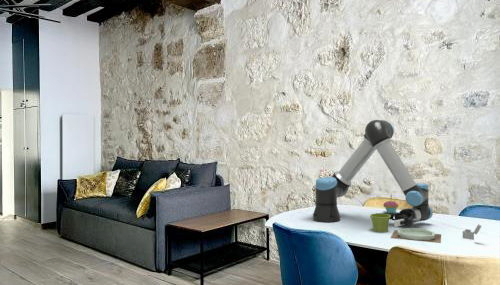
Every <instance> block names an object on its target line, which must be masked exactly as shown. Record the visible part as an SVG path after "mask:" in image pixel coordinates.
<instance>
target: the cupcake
mask: <svg viewBox="0 0 500 285" xmlns="http://www.w3.org/2000/svg"><path fill="white" fill-rule="evenodd" d="M392 196H393V195H392V194H390V200H389V201H385V202H384V203H383V208H385V210H386V213H392V212H393V213H396V212H397V209H398V208H399V204H398V203H397V202H396V201H393V200H392V199H393V198H392Z"/></svg>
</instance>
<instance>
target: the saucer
mask: <svg viewBox="0 0 500 285" xmlns="http://www.w3.org/2000/svg"><path fill="white" fill-rule="evenodd" d="M397 230H398V232H397V235H398V236H400V237H402V238H405V239H410V240H409V241H414V240H420V241H419V242H424V241H425V240H432V239H434V238H435V234H436V232H435V231H432V230H429V229H425V228H415V227H408V228H399V229H397ZM405 239H404V240H405Z"/></svg>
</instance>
